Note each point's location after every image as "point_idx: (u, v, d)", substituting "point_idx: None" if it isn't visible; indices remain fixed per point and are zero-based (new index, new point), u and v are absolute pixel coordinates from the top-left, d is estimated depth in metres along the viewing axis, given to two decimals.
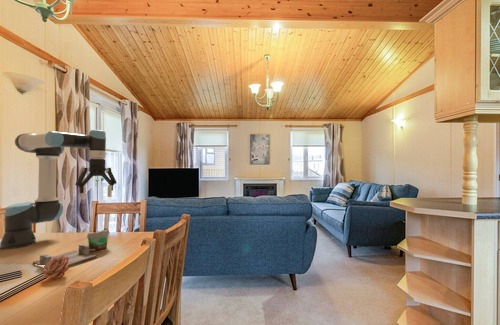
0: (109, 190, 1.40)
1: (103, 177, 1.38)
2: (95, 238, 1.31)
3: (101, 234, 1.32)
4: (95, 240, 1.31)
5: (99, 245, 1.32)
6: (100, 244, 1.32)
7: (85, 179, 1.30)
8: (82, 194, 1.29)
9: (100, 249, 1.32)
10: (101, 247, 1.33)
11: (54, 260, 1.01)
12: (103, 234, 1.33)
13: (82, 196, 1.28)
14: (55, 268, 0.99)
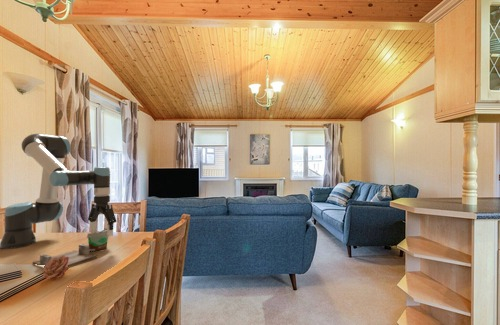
0: None
1: None
2: (95, 238, 1.31)
3: (101, 234, 1.32)
4: (95, 240, 1.31)
5: (99, 245, 1.32)
6: (100, 244, 1.32)
7: None
8: None
9: (100, 249, 1.32)
10: (101, 247, 1.33)
11: (54, 260, 1.01)
12: (103, 234, 1.33)
13: None
14: (55, 268, 0.99)
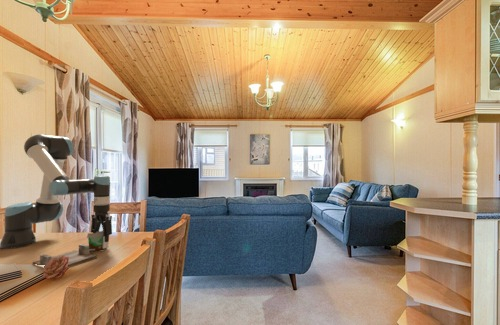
0: None
1: None
2: (95, 238, 1.31)
3: (101, 234, 1.32)
4: (95, 240, 1.31)
5: (99, 245, 1.32)
6: (100, 244, 1.32)
7: None
8: None
9: (100, 249, 1.32)
10: (101, 247, 1.33)
11: (54, 260, 1.01)
12: (103, 234, 1.33)
13: None
14: (55, 268, 0.99)
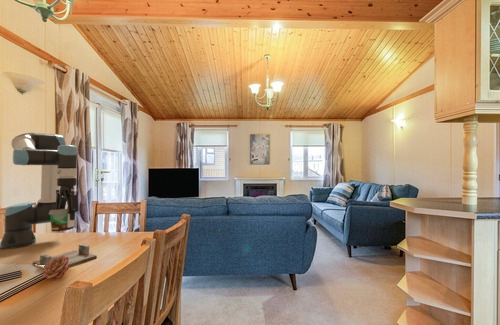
0: None
1: None
2: (58, 215, 1.14)
3: (66, 211, 1.16)
4: (58, 217, 1.14)
5: (64, 224, 1.16)
6: (65, 222, 1.16)
7: None
8: None
9: (65, 228, 1.16)
10: (66, 226, 1.16)
11: (54, 260, 1.01)
12: (68, 211, 1.16)
13: None
14: (55, 268, 0.99)
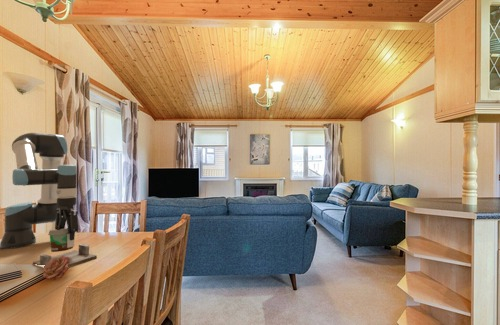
0: None
1: None
2: (58, 236, 1.14)
3: (65, 231, 1.15)
4: (58, 237, 1.14)
5: (63, 244, 1.15)
6: (64, 242, 1.16)
7: None
8: None
9: (64, 248, 1.16)
10: (66, 246, 1.16)
11: (54, 260, 1.01)
12: None
13: None
14: (55, 268, 0.99)
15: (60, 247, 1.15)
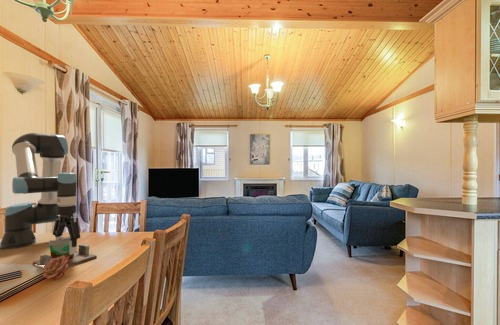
0: None
1: None
2: (58, 246, 1.14)
3: (65, 241, 1.15)
4: (57, 248, 1.14)
5: (63, 254, 1.15)
6: (64, 252, 1.16)
7: None
8: None
9: None
10: (65, 256, 1.16)
11: (54, 260, 1.01)
12: (68, 241, 1.16)
13: None
14: (55, 268, 0.99)
15: None
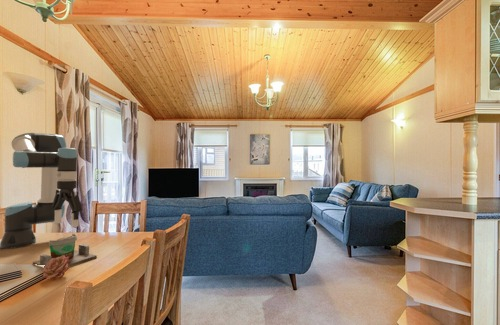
0: None
1: None
2: (58, 246, 1.14)
3: (65, 241, 1.15)
4: (57, 248, 1.14)
5: (63, 254, 1.15)
6: (64, 252, 1.16)
7: None
8: None
9: None
10: (65, 256, 1.16)
11: (54, 260, 1.01)
12: (68, 241, 1.16)
13: None
14: (55, 268, 0.99)
15: None
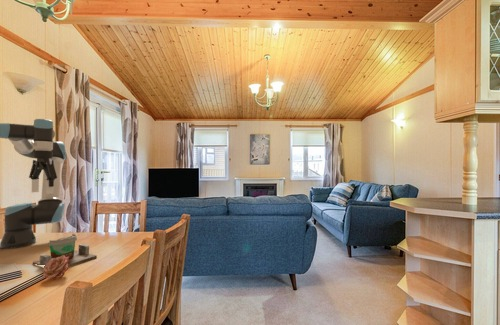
0: None
1: None
2: (58, 246, 1.14)
3: (65, 241, 1.15)
4: (57, 248, 1.14)
5: (63, 254, 1.15)
6: (64, 252, 1.16)
7: None
8: None
9: None
10: (65, 256, 1.16)
11: (54, 260, 1.01)
12: (68, 241, 1.16)
13: None
14: (55, 268, 0.99)
15: None
